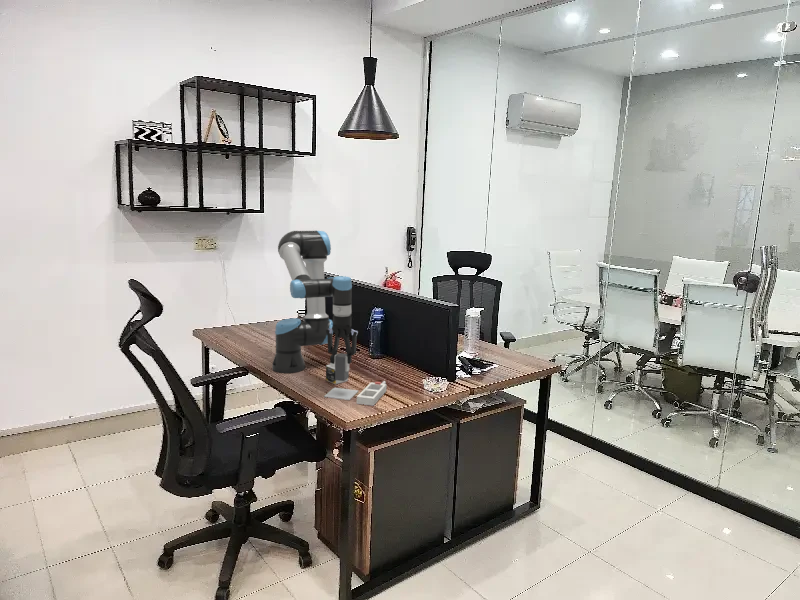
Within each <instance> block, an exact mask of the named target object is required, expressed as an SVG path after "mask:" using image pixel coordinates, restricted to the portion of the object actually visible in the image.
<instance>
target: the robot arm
mask: <svg viewBox="0 0 800 600" xmlns="http://www.w3.org/2000/svg"><path fill="white" fill-rule="evenodd" d="M331 247H332V245H331V240H330V237H329V235H328V232H326V231H324V230H292V231H290V232H287V233H286V234H284V235H283V236H282V237H281V239H280V240H279V242H278V245H277V252H278V254H279V257H280V258H281V259H282V260H283V261H284V263H285V266H286V269H287V271H288V273H289V276H290V279H291V281H290V284H289V292H290V295H291V297H292V298H294V299H306V310H307V313H306V314H305V316H304V317H303V321H302V320H301V319H300V318H297V317H291V318H285V319H282V320H279V321H278V322H277V323H276V325H275V331H274V335H275V354H274V357H273V361H272V364H271V369H272V370H273V371H274V372H277V373H281V374H292V373H299V372H301V371H304V369H305V368H306V362H305V360H304V357H303V354H302V347H305V346H318V345H319V346H322V345H326V344H327V353H328V354H331V355H333V362H335V356H337V355H338V354H339V353H338V351H339V350H338V349H339V344H340V341H341V340H340V339H341V338H342V339H343V341H344V346H345V351H346V354H347V356H345V372H348V371H350V364H351V363H352V360H353V359H352V356H354V355H356V353H357V345H358V344H357V343H358V342H357V340H358V334H359V331H358V330H354V329H353V327H352V290H353V289H352V287H353V284H352V283H353V282H352V278H351V277H350V276H346V275H345V276H344V275H338V276H332V277H328V278H325V262H326V261H327V260H328V256H330V255H331V251H332V248H331ZM326 298H332V315H333V316H332V319H330V317H329V314H327V313H326ZM333 334H334V341H333ZM350 334H351V336H352V337H351V341H350Z"/></svg>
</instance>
